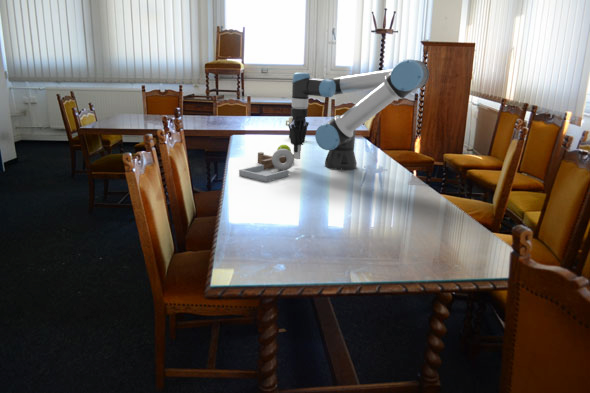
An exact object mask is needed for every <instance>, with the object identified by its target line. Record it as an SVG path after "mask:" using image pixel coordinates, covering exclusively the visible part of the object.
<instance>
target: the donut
mask: <svg viewBox="0 0 590 393" xmlns="http://www.w3.org/2000/svg"><path fill="white" fill-rule="evenodd" d="M293 154H294V153H293V152H292V151H291V152H290V151H289V150H287V149H279V150H277V149H276V151H274V152H273V154H272V155H271V156H272V163H273V165H274V168H275V169H277V170H279V171H284V170H290V169H291V168H292V167H293V165H294V163H295V159H294V156H293ZM281 156H285V157H286V159H287V161H286V162H285V163H281V162H280V161H279V158H280V157H281Z"/></svg>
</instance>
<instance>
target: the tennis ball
mask: <svg viewBox="0 0 590 393" xmlns="http://www.w3.org/2000/svg"><path fill="white" fill-rule="evenodd" d="M279 149H287V150H289V151H290V152H291V153H292V151H291V147H290V146H289V145H287V144H281V145H279V146H278V147H277V149H276V151H277V150H279Z"/></svg>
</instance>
